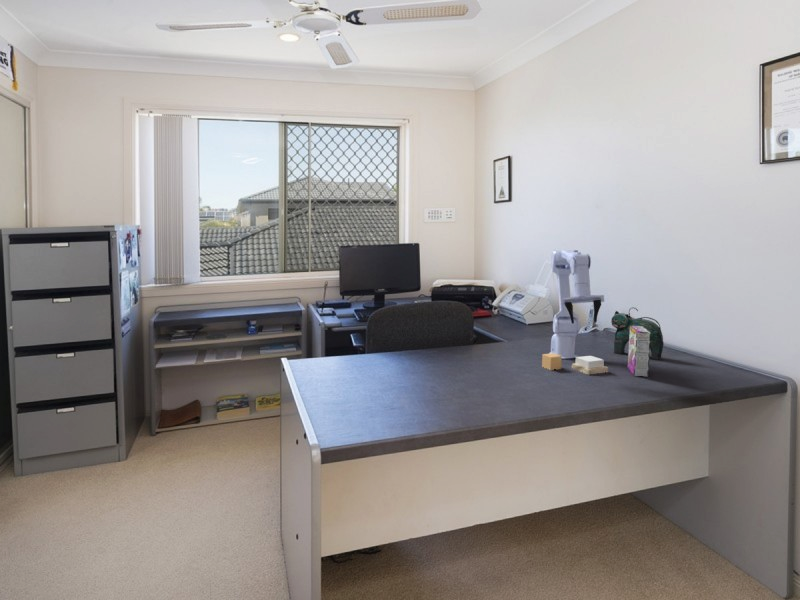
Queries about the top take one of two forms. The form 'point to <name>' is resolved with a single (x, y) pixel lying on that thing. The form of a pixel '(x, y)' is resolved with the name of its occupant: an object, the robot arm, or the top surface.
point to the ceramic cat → (623, 329)
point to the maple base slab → (590, 369)
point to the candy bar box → (639, 351)
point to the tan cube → (551, 361)
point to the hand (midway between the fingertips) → (584, 322)
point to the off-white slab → (589, 361)
